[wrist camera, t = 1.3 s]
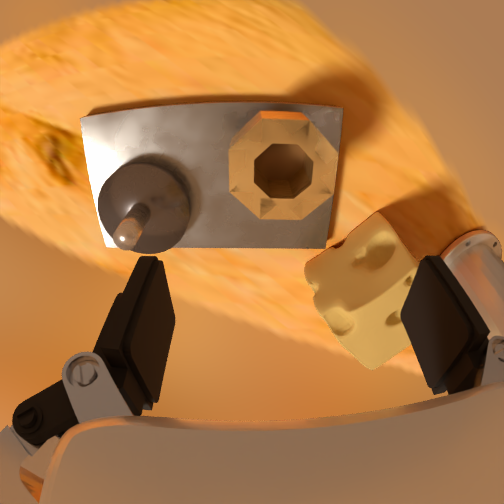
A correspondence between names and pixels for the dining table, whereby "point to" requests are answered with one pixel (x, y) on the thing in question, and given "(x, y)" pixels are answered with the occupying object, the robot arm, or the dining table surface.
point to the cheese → (365, 290)
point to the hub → (144, 207)
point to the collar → (281, 191)
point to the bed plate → (205, 167)
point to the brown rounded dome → (280, 161)
